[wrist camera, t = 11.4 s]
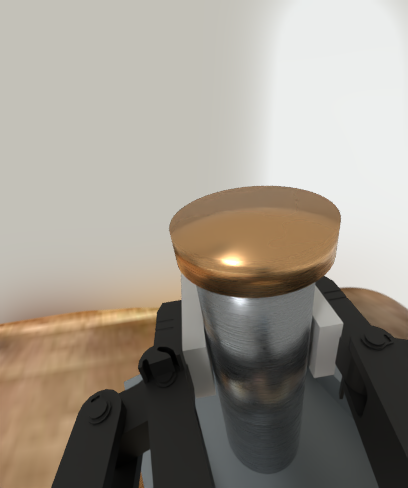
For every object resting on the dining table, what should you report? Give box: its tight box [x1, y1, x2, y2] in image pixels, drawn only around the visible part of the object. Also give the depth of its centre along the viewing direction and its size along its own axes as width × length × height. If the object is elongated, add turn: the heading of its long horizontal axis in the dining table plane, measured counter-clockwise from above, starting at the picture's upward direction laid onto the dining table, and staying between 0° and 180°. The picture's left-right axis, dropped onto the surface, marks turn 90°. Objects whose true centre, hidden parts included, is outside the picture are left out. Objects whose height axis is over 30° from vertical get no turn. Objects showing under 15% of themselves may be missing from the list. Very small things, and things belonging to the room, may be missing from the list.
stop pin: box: [169, 186, 341, 474], centre depth 10 cm, size 4×4×12 cm
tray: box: [124, 365, 379, 488], centre depth 14 cm, size 12×12×2 cm
